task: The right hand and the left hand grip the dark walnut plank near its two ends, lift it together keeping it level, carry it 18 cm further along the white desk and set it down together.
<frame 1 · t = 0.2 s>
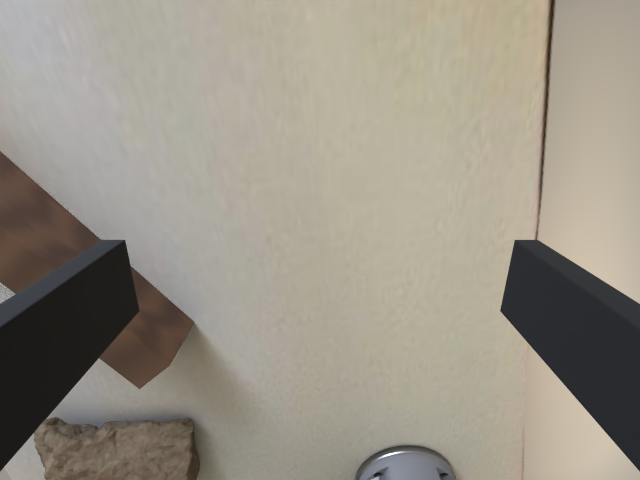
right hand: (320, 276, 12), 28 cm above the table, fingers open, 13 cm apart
walnut plank: (85, 250, 42), on the table
stone: (131, 444, 53), on the table
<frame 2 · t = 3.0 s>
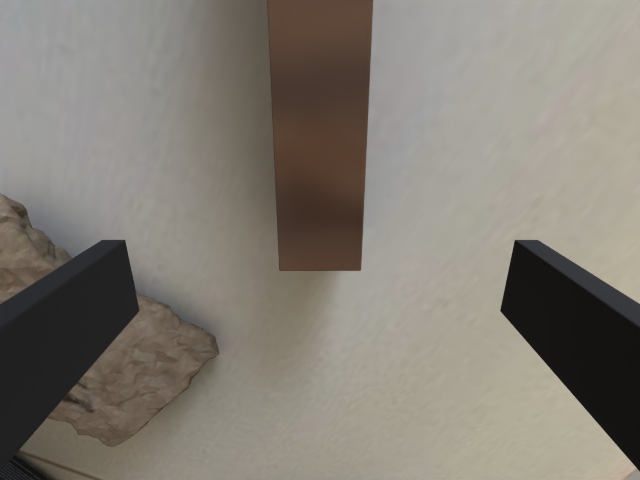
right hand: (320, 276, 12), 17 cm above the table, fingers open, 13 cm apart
walnut plank: (320, 16, 24), on the table
stone: (94, 316, 32), on the table
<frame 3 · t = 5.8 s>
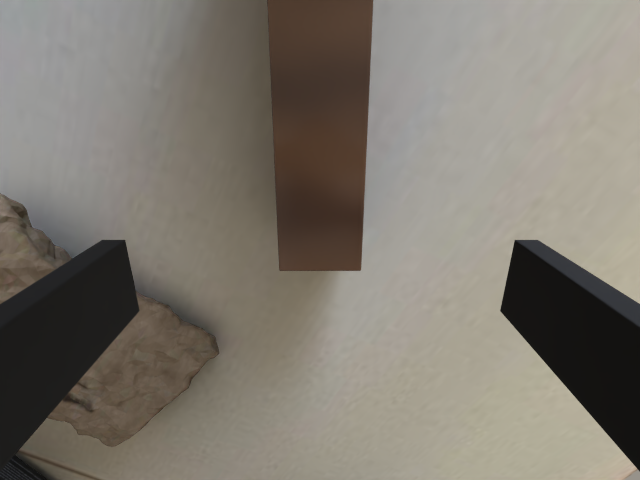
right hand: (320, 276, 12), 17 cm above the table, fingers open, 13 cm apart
walnut plank: (320, 16, 24), on the table, touching left hand
stone: (94, 316, 32), on the table
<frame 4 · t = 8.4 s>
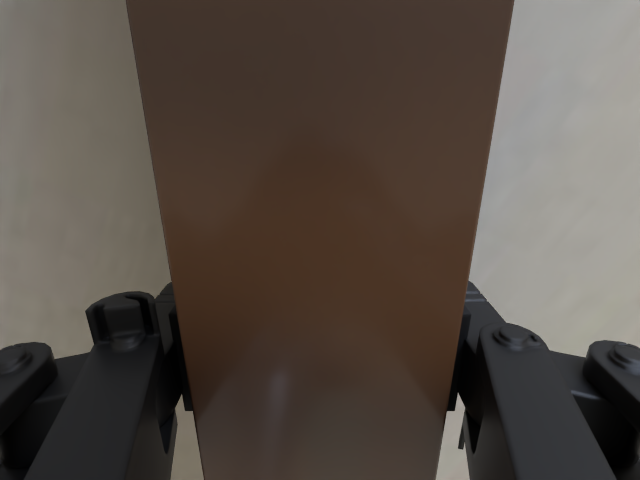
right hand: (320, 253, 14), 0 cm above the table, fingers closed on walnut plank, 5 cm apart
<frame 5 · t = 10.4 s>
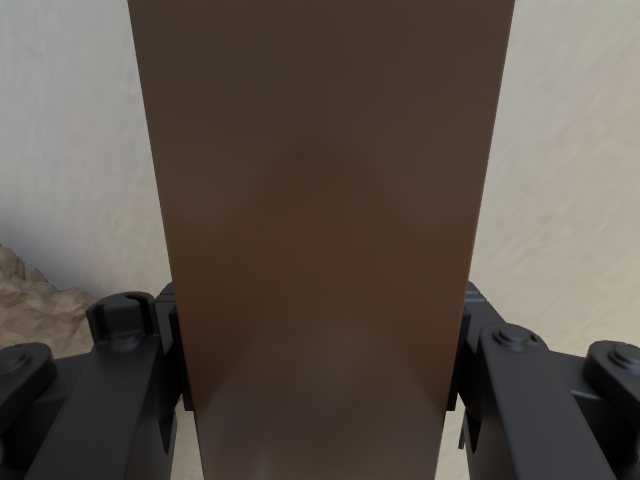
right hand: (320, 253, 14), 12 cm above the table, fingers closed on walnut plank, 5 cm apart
stone: (71, 337, 30), on the table
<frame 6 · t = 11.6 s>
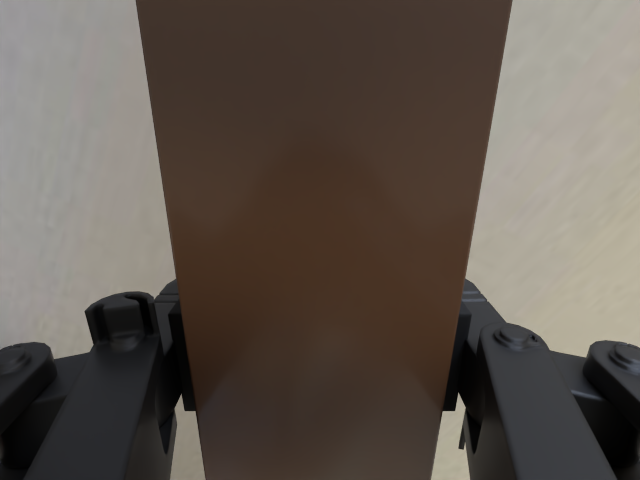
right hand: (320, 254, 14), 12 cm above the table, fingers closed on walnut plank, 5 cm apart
when the right hand's fingers open (0 cm above the table, at t = 14.9 s): walnut plank stays where it is, on the table.
when the left hand's fingers open (3 cm above the table, at t = 15.1 s): walnut plank stays where it is, on the table.
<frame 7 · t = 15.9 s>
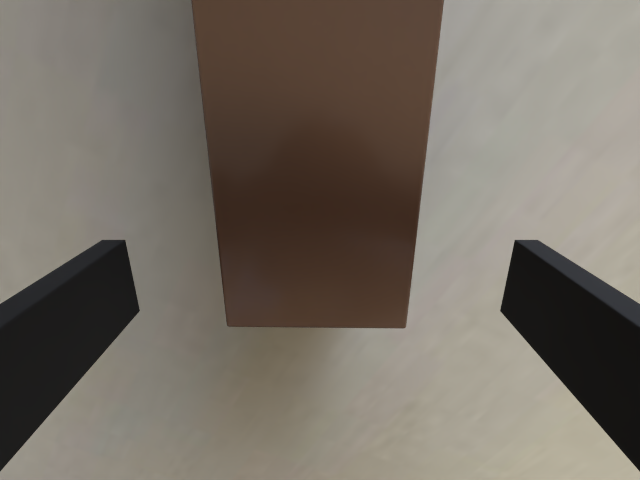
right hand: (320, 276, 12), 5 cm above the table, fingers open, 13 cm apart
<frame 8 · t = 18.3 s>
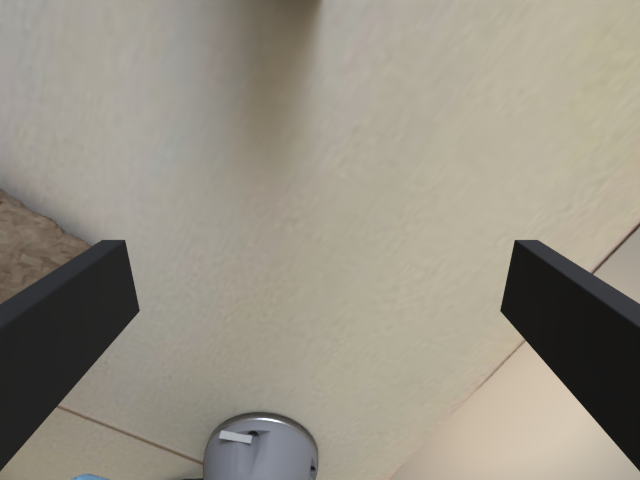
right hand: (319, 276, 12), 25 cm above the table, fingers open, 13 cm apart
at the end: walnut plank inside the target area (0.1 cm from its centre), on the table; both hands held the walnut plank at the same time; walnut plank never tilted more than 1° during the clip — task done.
